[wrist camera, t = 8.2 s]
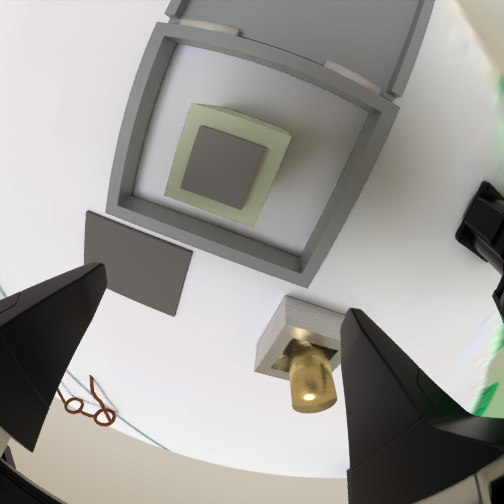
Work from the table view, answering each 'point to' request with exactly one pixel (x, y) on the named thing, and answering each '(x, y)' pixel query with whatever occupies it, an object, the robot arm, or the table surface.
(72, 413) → the glasses
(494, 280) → the table surface
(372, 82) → the case
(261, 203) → the module
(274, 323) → the grey square socket block
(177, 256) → the mat
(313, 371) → the rod
